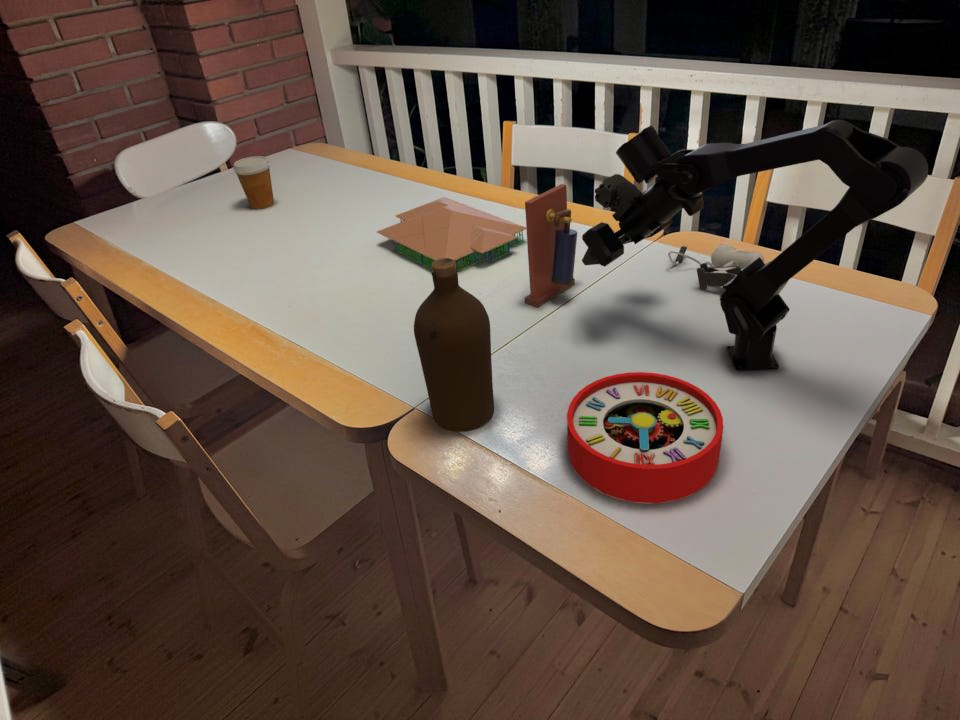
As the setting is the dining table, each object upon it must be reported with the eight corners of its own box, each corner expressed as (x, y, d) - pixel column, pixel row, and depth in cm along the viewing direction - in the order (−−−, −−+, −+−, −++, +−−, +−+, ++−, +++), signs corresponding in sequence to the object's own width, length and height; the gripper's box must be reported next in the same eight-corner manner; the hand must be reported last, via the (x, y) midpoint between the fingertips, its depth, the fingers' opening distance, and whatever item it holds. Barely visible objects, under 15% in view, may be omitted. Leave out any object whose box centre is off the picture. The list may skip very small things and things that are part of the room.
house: (454, 283, 140) (449, 245, 135) (368, 239, 162) (362, 206, 158) (537, 245, 151) (535, 209, 147) (446, 209, 173) (442, 177, 169)
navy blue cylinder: (560, 275, 130) (567, 205, 124) (577, 281, 128) (584, 209, 122) (541, 282, 127) (547, 210, 121) (558, 288, 124) (565, 215, 118)
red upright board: (590, 289, 133) (589, 188, 122) (552, 313, 126) (548, 209, 115) (562, 279, 137) (559, 181, 126) (524, 302, 131) (518, 201, 120)
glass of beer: (237, 211, 186) (224, 167, 180) (257, 197, 194) (245, 155, 187) (268, 212, 183) (256, 167, 177) (286, 198, 191) (275, 155, 184)
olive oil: (502, 430, 100) (487, 276, 87) (429, 440, 100) (403, 286, 86) (494, 387, 109) (479, 241, 95) (427, 396, 109) (402, 251, 95)
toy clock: (714, 373, 97) (733, 472, 81) (710, 405, 101) (728, 507, 84) (570, 370, 101) (562, 465, 85) (571, 402, 104) (563, 499, 88)
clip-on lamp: (656, 284, 138) (733, 296, 123) (650, 255, 135) (728, 264, 121) (694, 259, 143) (773, 268, 128) (689, 230, 140) (769, 236, 125)
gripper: (660, 146, 114) (605, 198, 127) (591, 181, 103) (538, 234, 116) (700, 201, 113) (640, 247, 126) (635, 242, 103) (577, 288, 116)
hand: (600, 252), depth 121 cm, fingers open, 9 cm apart
